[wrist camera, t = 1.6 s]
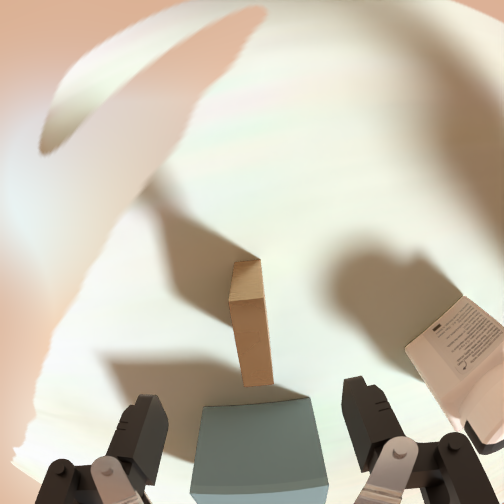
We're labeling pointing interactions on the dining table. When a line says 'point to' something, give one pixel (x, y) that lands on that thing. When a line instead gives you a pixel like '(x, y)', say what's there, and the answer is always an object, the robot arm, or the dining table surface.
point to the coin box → (259, 455)
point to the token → (251, 323)
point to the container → (465, 371)
